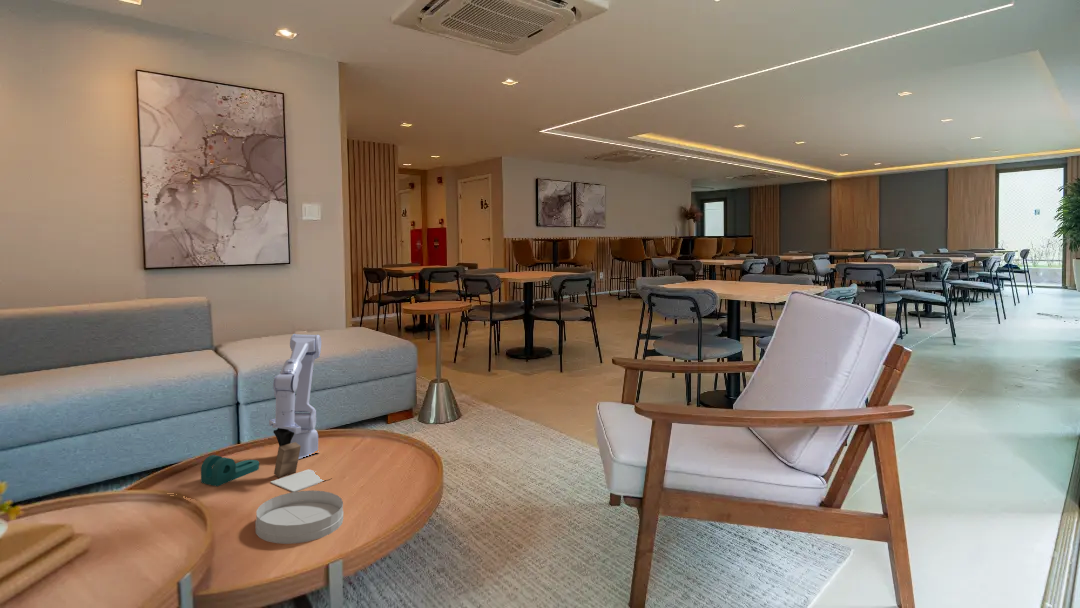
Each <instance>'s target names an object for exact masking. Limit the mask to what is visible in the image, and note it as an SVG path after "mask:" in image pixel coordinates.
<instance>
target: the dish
mask: <svg viewBox="0 0 1080 608" xmlns="http://www.w3.org/2000/svg"><path fill="white" fill-rule="evenodd" d="M255 513H256V520H255V534H256V535H257V536H258V538H259V539H261V540H263V541H265V542H267V543H269V542H270V543H273V544H282V545H283V544H284V545H289V544H301V543H307V542H312V541H316V540H318V539H322V538H324V537H326V536H329V535H331V534H332V533H334V532H335V531H336V530H338V529H339V528H340V527H341V526H342V525H343V523H344V522H343V521H344V513H345V512H344V501H343V499H342V498H341V497H340V496H339V495H337V494H336V493H333V492H330V491H323V490H300V491H297V492H287V493H283V494H280V495H277V496H275V497H272V498H269V499H268V500H267V501H264V502H263V503H261V504H260V505H259V506H258V508H257V509H256V511H255Z"/></svg>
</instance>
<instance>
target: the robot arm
mask: <svg viewBox="0 0 1080 608" xmlns="http://www.w3.org/2000/svg"><path fill="white" fill-rule="evenodd" d="M289 348H290V349H291V354H290V357H289V359H286V360H285V362H284V363H283V366H282V368H281V371H280V372H279V374H277V375H275V376H274V377H273V378H274V379H273V383H272V384H273V385H272V386H273V387H272V389H273V392H274V393H273V394H274V395H273V396H274V398H275V418H272V419H269V420H268V425H269V427H272V428H273V429H274V430H273V432H272V433H273V434H274V436H275V437H276V440H277V442H278V443H277V444H278V447H279V446H283V445H286V444H290V443H294V442H296V443H297V444H299V445H300V446H301V448H300V453H299V458H298V460H302V459H304V458H303V457H305V458H307V457H306V456H308V457H310V456H309V454H310V455H311V454H312V453H314V452H315V451H317V450H318V451H319V434H318V433H319V432H318V431H317V430H316V426H317V410H316V408H315V407H314V406H313V405H311V404H310V400H311V399H310V398H311V391H312V390H311V388H312V382H313V381H312V380H313V373H314V372H313V370H314V364H315V361H316V359H319V358H320V355H321V350H322V336H321V335H320V334H298V333H293V334H292V335H291V337H290V339H289ZM311 456H312V455H311Z"/></svg>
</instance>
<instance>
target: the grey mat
mask: <svg viewBox="0 0 1080 608" xmlns="http://www.w3.org/2000/svg"><path fill="white" fill-rule="evenodd" d="M314 471H315V470H312V469H310V468H308V469H305V470H302V471H299V472H296V473H293V474H290V475H287V476H284V477H281V478H279V479H278V478H276V479H275V480H272V481H270V484H272V485H275V486H277V487H279V488H282V489H284V490H287V491H289V492H290V493H292V492H299V491H303V490H305V489H307V488H310V487H314V486H316V485H319V484H321V483H320V482H322V481H324V480H322V479H320V477H319V476H318V475H316V474H315V472H316V471H315V472H314ZM318 483H319V484H318ZM322 483H323V482H322Z"/></svg>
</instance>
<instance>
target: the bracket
mask: <svg viewBox="0 0 1080 608" xmlns="http://www.w3.org/2000/svg"><path fill="white" fill-rule="evenodd" d="M259 469H260V461H259V460H257V459H246V460H245V459H244V460H242V461H239V462H236V461H235V460H234V459H233V458H229V457H225V456H224V457H223V456H220V455H216V454H213V455H211V454H210V455H209V456H207V457H206V458H205V459H204V460H203V461H202V464H201V467H200V483H201V484H205V485H209V486H213V487H219V486H222V485H224V484H226V483H229V482H232V481H234V480H236V479H240V478H242V477H243V476H248V475H249V474H251V473H255V472H256V471H259Z"/></svg>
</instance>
